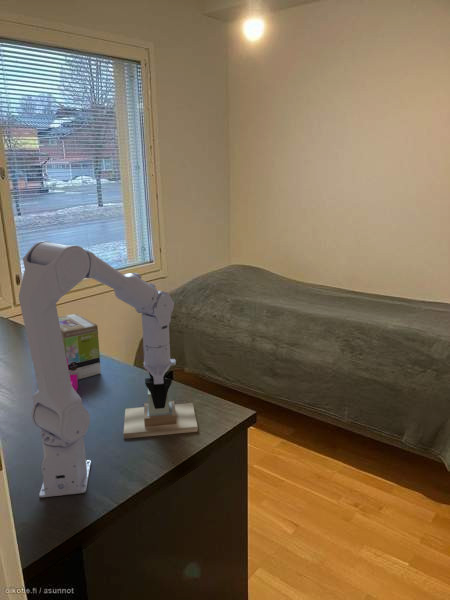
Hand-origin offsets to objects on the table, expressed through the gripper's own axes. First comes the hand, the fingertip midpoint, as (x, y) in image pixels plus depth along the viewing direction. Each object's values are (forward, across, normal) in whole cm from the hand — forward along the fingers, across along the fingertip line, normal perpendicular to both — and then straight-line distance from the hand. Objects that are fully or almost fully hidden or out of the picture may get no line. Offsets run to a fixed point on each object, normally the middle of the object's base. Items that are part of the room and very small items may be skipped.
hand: (159, 399), depth 106 cm
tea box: (+6, +34, +23) cm, 41 cm away
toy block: (+6, +20, +24) cm, 32 cm away
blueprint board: (+6, 0, 0) cm, 6 cm away
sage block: (+2, 0, 0) cm, 2 cm away
